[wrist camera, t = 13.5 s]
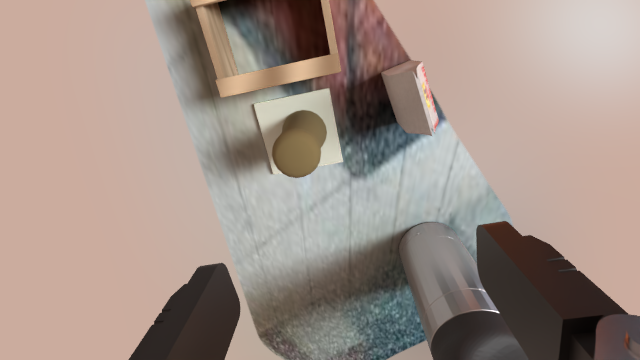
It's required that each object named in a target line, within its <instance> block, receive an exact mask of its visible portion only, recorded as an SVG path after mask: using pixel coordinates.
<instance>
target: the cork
mask: <svg viewBox="0 0 640 360" xmlns="http://www.w3.org/2000/svg"><path fill="white" fill-rule="evenodd" d="M326 136H327V130H326V125H325V123H324V121H323V119H322V118H321V117H320V116H319V115H318V114H316V113H314V112H312V111H308V110H300V111H296V112H294V113H292V114H290V115H289V116H288V117H287V118H286V120H285V122H284V124H283V127H282V133H281V134H280V135H279V137H278V138H277V139H276V140H275V142H274V145H273V147H272V157H273V161H274V164H275V165H276V167H277V169H278V170H280V171H281V172H282V173H283V174H285V175H287V176H289V177H295V178H299V177H304V176H306V175H308V174H310V173H312V172H313V171H314V170H315V169H316V168H317V166H318V164H319V162H320V158H321V147H322V146H323V144H324V142H325V140H326Z"/></svg>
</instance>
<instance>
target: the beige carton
mask: <svg viewBox="0 0 640 360" xmlns="http://www.w3.org/2000/svg"><path fill="white" fill-rule="evenodd" d="M381 75H382V78H383V81H384V84H385V87H386V90H387V93H388V96H389V99H390V102H391V105H392V108H393V111H394V114H395V117H396V120H397V123H398V124H399V125H400V126H401V127H402V128H403V129H404V130H405V131H406V132H407V133H415V134H426V135H430V136H432V130H433V132H434V133H435V129H436V126H437V124H438V121H439V120H438V116H437V113H436V109H435V106H434V102H433V99H432V95H431V91H430V88H429V84H428V81H427V78H426V74H425V70H424V67H423V63H422V61H421V62H420V61H411V60H409V61H407V62H404V63H402V64H400V65H397V66H395V67H393V68H390V69H388V70H386V71H383V72H381Z"/></svg>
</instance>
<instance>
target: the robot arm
mask: <svg viewBox="0 0 640 360" xmlns="http://www.w3.org/2000/svg"><path fill="white" fill-rule="evenodd" d="M476 237H477V264H476V262H475V261H474V259H473V258H472V256H471V255H470V253H469V252H468V250H467V249H466V247H465V246H464V244H463V243H462V241H461V240H460V238H459V237H458V235H457V234H456V233H455V232H454V230H453V229H451V228H450V227H448V226H447V225H444V224H442V223H436V222H428V223H423V224H420V225H417V226H415V227H413V228H412V229H410V230H409V231H408V232H407V233H406V234H405V235H404V236H403V238H402V240H401V242H400V245H399V255H400V258H401V261H402V264H403V267H404V271H405V274H406V277H407V280H408V283H409V286H410V289H411V293H412V296H413V299H414V302H415V305H416V308H417V311H418V314H419V317H420V320H421V323H422V326H423V330H424V332H425V335H426V338H427V341H428V344H429V348H430V351H431V354H432V357H433V360H640V316H637V315H629V314H628V313H627V312H625V311H624V310H623V309H622V308H621V307H620V306H619V305H618V304H617V303H615V302H614V301H613V300H612V299H611V298H610V297H608V296H607V295H606V294H605V293H604V292H603V291H602V290H601V289H600V288H598V287H597V286H596V285H595V284H594V283H593V282H592V281H591V280H589V279H588V278H587V277H586V276H585V275H584V274H583V273H581V272H580V271H577V270H576V267H575V266H574V265H572V264H571V263H570V262H569V261H568V260H565V259H564V257H563V256H562V255H561V254H560V253H559V252H558V251H556V250H555V249H554V248H553V247H552V246H551V245H550V244H548V243H546V242H543V241H541V240H539V239H537V238H535V237H533V236H531V235H528V236H522V235H521V234H520V233H518V231H517V230H516V229H515V228H514V227H512V226H511V225H510V224H509V223H508V222H506V221H503V222H496V223H490V224H483V225H478V227H477V230H476ZM239 316H240V302H239V298H238V295H237V293H236V290H235V288H234V285H233V283H232V280H231V277H230V275H229V272H228V269H227V267H226V266H225V265H224V264H223V263H219V264H212V265H205V266H200V267H198V268H197V270H196V271H195V273H194V274H193V276H192V277H191V279H190V280H189V282H188V284H184V285H183V286H182V287H181V288H180V289H179V290H178V291H177V292H175V293H174V294H173V295H172V296H171V297H170V299H169V300H168V302H167V303H166V305H165V306H164V308H163V309H162V313H160V314H159V315H158V317H157V318H156V320H155V321H154V325H152V326H151V327H150V329H149V330H148V332H147V333H146V335H145V336H144V338H143V339H142V341H141V342H140V344H139V345H138V347H137V348H136V349H135V351H134V353H133V354H132V355H131V357H130V358H129V360H224V359H225V356H226V354H227V351H228V348H229V345H230V342H231V340H232V337H233V334H234V331H235V328H236V326H237V323H238V320H239Z"/></svg>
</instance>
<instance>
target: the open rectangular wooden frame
mask: <svg viewBox="0 0 640 360" xmlns="http://www.w3.org/2000/svg"><path fill="white" fill-rule="evenodd" d="M221 1H225V0H190V2H191V5H192V7H194V8H196V11H197V14H198V18H199V21H200V24H201V27H202V30H203V34H204V37H205V40H206V43H207V46H208V50H209V53H210V56H211V59H212V62H213V66H214V69H215V72H216V75H217V78H218V80H215V81H216V84H217V87H218V90H219V93H220V96H221V98H222V97H226V96H231V95H236V94H240V93H245V92H249V91H254V90H259V89H263V88H268V87H273V86H277V85H282V84H287V83H291V82H296V81H301V80H305V79H310V78H315V77H319V76H324V75H328V74H333V73H338V72H341V67H340V62H339V56H338V50H337V45H336V39H335V33H334V27H333V21H332V15H331V10H330V4H329V0H321V4H322V10H323V15H324V21H325V26H326V32H327V38H328V43H329V49H330V54H331V55H326V56H322V57H317V58H313V59H308V60H304V61H299V62H295V63H290V64H286V65H281V66H277V67H272V68H268V69H263V70H259V71H254V72H250V73H245V74H241V75H239V74H238V71H237V67H236V64H235V60H234V57H233V53H232V50H231V46H230V43H229V39H228V36H227V32H226V29H225V26H224V22H223V19H222V15H221V12H220V8H219V5H218V2H221Z"/></svg>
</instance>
